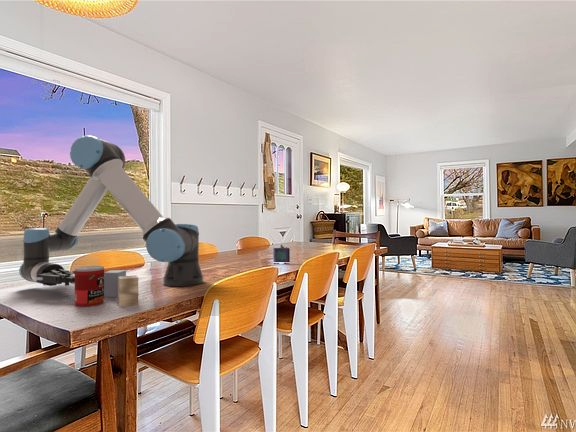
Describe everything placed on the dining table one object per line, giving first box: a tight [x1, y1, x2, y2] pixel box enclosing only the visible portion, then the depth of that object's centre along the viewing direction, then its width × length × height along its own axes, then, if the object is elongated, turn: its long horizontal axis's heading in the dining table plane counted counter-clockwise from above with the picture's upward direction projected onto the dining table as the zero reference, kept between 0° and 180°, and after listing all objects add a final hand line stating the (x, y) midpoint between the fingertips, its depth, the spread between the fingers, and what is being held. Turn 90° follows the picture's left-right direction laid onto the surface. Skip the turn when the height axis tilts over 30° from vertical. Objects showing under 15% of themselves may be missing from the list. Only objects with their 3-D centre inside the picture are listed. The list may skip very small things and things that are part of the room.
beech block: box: [117, 274, 139, 307], centre depth 104 cm, size 5×5×8 cm
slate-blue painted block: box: [104, 269, 127, 298], centre depth 115 cm, size 5×5×8 cm
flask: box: [272, 244, 291, 263], centre depth 190 cm, size 9×3×11 cm, turn 84°
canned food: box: [74, 265, 105, 308], centre depth 104 cm, size 8×8×11 cm
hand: (82, 280), depth 106 cm, fingers closed
